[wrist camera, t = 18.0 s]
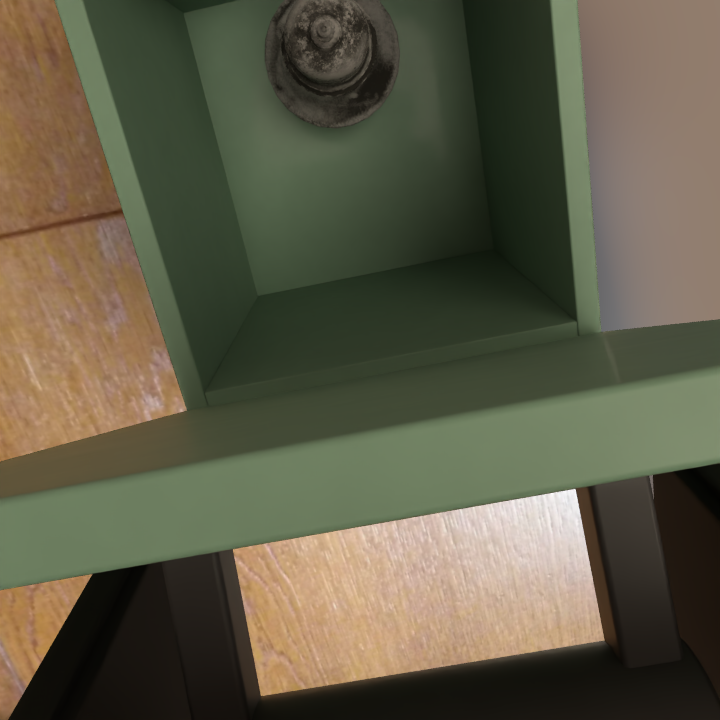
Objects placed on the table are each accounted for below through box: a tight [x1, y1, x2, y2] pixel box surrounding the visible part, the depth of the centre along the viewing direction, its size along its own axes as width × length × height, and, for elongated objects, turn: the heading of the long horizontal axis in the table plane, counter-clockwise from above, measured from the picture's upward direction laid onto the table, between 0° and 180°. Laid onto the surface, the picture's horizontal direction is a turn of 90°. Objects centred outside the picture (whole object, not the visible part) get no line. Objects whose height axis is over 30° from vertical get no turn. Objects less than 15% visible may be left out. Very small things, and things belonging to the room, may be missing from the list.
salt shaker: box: [265, 0, 400, 128], centre depth 25 cm, size 6×6×12 cm
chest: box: [54, 0, 601, 411], centre depth 26 cm, size 16×15×14 cm
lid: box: [0, 319, 720, 720], centre depth 13 cm, size 16×15×5 cm
